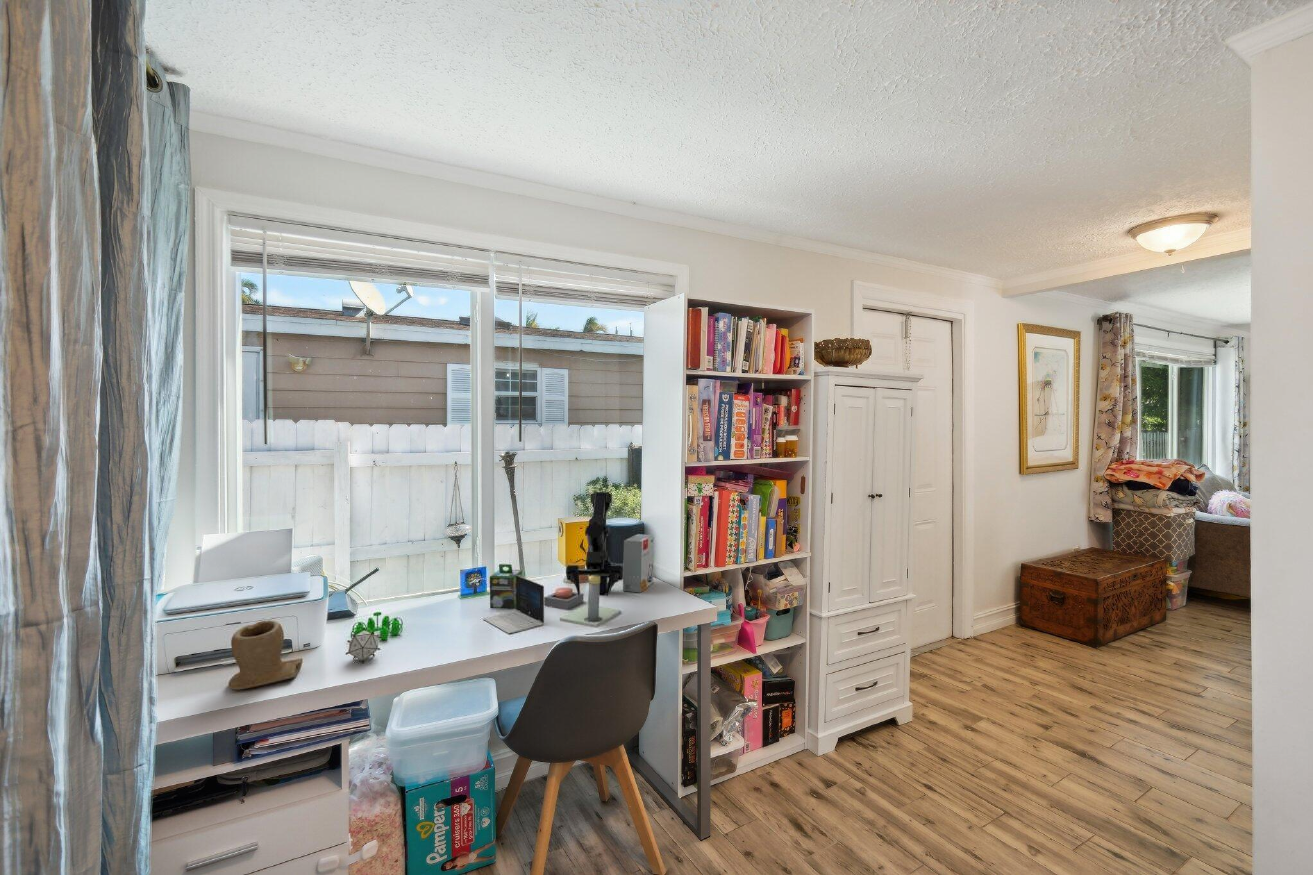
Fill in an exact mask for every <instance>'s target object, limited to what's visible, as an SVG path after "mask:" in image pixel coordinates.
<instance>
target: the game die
mask: <svg viewBox="0 0 1313 875" xmlns="http://www.w3.org/2000/svg"><path fill="white" fill-rule="evenodd" d="M365 629H366V628H365V626H364V628H363V630H364V631H362V632H360V633H358V634H357V635H354V633H352V638H351V640H349V639H348V640H346V642H347V643H348V650H347V652H345V655H349V654H350V655H351V656H353V657H352V658H353V660H355V659H358V660H360V661H361V664H362V663H363V664H364V663H365V660H367V659H369V658H370V657H372V656H373V657H375V656H376V654H375V653H376V652H377V651H380V650H381V648H380V647H379V640H381V639H380V638H381V636H380V635H379V636H377V635H375V632H372V633H370V632H368V631H366V630H365ZM354 658H355V659H354Z"/></svg>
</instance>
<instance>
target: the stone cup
mask: <svg viewBox="0 0 1313 875" xmlns="http://www.w3.org/2000/svg"><path fill="white" fill-rule="evenodd" d="M284 640H285V633H284V630H283V627H282V624H280V623H279V622H278V621H276V620H261V621H258V622H256V623H254V624H249V625H245V626H243V627H240V628H239V629H238V630H237V631H235V632H234V634H233V635H232V637H231V640H230V641H231V642H230V644H231V651H232V656H233V658H234V660H235V662H236V664H237V667H238V668H239V672H237V673H235V674H234V675H233V676H232V677H231V678H230V680H228V687H229V688H230V689H231V690H236V691H239V690H244V689H250V688H251V689H252V688H257V687H260V686H264V685H269V684H273V683H278V682H282V681H286V680H289V679H293V678H295V677H297V676H298V674H299V672H300V671H301V668H302V664H303V658H302V657H301V658H295V659H291V660H285V661H282V659H281V658H282V657H281V656H282V651H283V646H284Z"/></svg>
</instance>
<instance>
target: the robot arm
mask: <svg viewBox="0 0 1313 875" xmlns="http://www.w3.org/2000/svg"><path fill="white" fill-rule="evenodd" d="M589 502H590V504H591V505H592V506H591V507H592V509H593V510H592V511H593V513H592V517H591V518H589V520H588V525H586V527H585V530H584V534H585V536H586V542H587V544H588V546H587V552H586V558H585V567H586V568H579V564H567V566H566V567H565V574H566V575H565V576H566V580H567V581H570V583H573V584H574V586H575V589H576V593H578V596H580V593H581V587H580V586H581V584H580V576H588V577H589V576H590V575H599V576H600V594H599V596H604V595H605V594H606V597H609V594H610V593H611V592H612V589H613V587H614V586H615V584H616V583H618V582H619V581H623V565H622V564H612V562H611V561H610V557H609V555H608V550H607V548H606V546H607V545H606V543H607V541H606V538H607V537H608V536H609V535H610V528H609V525H607V514H608V512H610V510H611V504H613V494H612V493H610V491H593V493H590V501H589Z"/></svg>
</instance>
